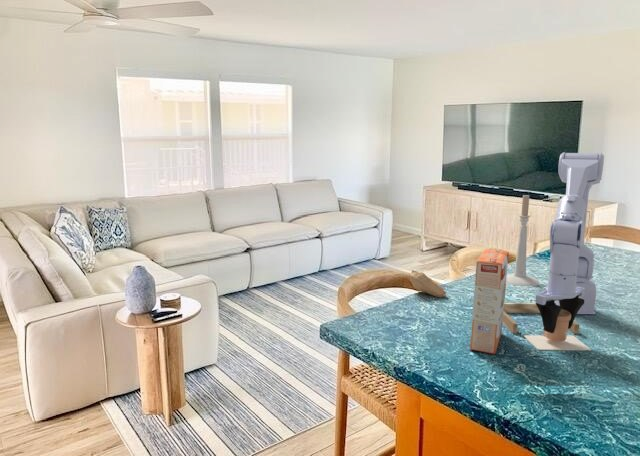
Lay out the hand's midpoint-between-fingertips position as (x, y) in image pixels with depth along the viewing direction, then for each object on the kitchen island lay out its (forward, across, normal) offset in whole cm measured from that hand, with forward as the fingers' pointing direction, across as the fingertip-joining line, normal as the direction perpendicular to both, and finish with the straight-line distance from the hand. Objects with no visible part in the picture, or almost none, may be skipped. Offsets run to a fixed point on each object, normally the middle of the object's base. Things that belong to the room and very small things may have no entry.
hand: (557, 329), depth 112 cm
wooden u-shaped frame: (+3, -6, -12) cm, 14 cm away
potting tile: (+3, 0, 0) cm, 3 cm away
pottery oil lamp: (+4, +3, -43) cm, 43 cm away
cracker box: (+4, +14, -8) cm, 16 cm away
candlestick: (+4, -33, -38) cm, 51 cm away
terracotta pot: (+2, 0, -1) cm, 2 cm away
